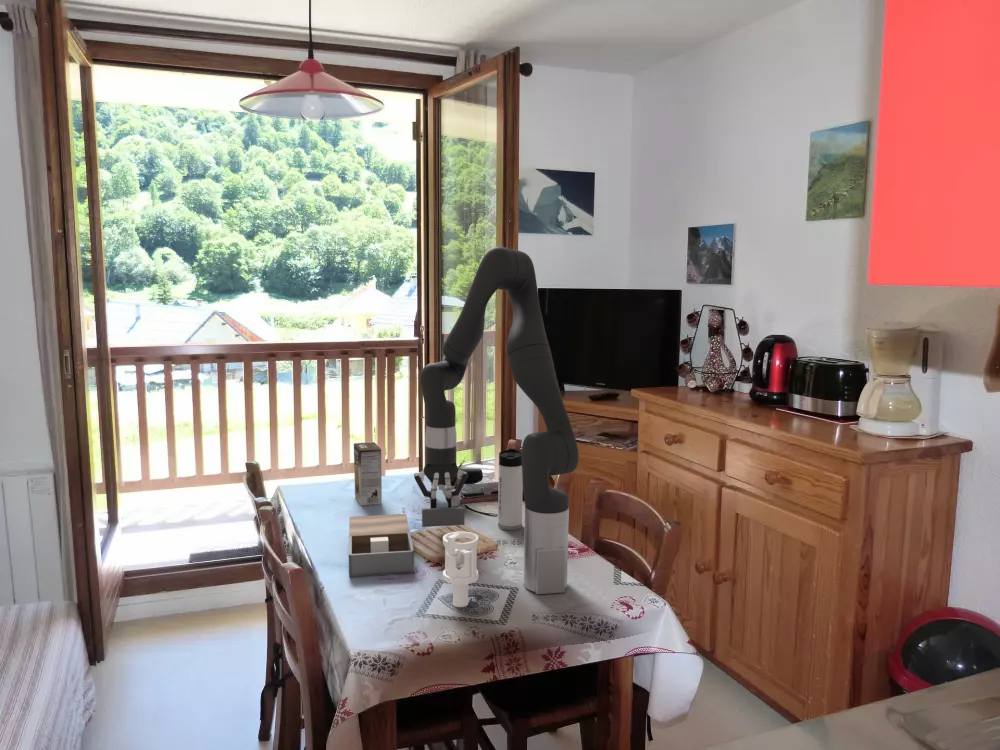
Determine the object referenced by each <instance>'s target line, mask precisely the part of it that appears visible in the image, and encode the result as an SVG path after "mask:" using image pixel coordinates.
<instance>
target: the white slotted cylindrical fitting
mask: <svg viewBox="0 0 1000 750" xmlns="http://www.w3.org/2000/svg"><path fill="white" fill-rule="evenodd" d="M459 538H465V539H471V541H468V542H462V541H456V540H457V539H459ZM442 545H443V546H444V570H443V571H442V580H443V581H444V582H445V583H447V584H451V585H452V605H453V606H454V607H456V608H464V607H467V606H468V605H469V584H473V583H476V582H477V581H478V579H479V571H478V569H477V565H478V562H477V560H478V559H477V552H478V551H477V549H478V548H477V546H478V545H479V535H478V534H476V533H474V532H469V531H462V530H461V531H452V532H448V533H445V534H444V535H443V536H442Z"/></svg>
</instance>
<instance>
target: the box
mask: <svg viewBox="0 0 1000 750" xmlns="http://www.w3.org/2000/svg"><path fill="white" fill-rule="evenodd" d="M407 540H408V551H396V552H379V553H362V554H352V536H348V578H361V577H373V576H391V575H392V576H393V575H407V574H414V573H415V550H414V546H413V545H414V544H413V541H412V536H411V532H410V533H407Z"/></svg>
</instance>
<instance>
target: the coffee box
mask: <svg viewBox="0 0 1000 750" xmlns="http://www.w3.org/2000/svg"><path fill="white" fill-rule="evenodd" d="M353 464H354V465H353V466H354V469H353V470H354V471H353V472H354V496H355V499H356V501H357V503H358V504H359V506H360V507H362V506H364V507H365V506H374V505H381V504H383V503H382V502H383V501H382V499H383V497H382V496H383V495H382V493H383V492H382V489H383V487H382V475H383V474H382V449H381V448H380V446H379V445H378V444H377V443H376V442H375V441H374V442H355V443H353ZM373 504H374V505H373Z"/></svg>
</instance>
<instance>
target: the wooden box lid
mask: <svg viewBox="0 0 1000 750" xmlns="http://www.w3.org/2000/svg"><path fill="white" fill-rule="evenodd" d="M348 519H349V523H348V525H349V527H348V531H349V532H348V535H349V536H352V554H362V553H371V551H370V538H377V537H388V544H389V552H396V551H408V540H407V533H410V534H411V531H410V527H409V522H408V517H407V513H403V514H402V513H399V514H378V515H359V516H357V515H356V516H349V518H348ZM349 536H348V537H349Z"/></svg>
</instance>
